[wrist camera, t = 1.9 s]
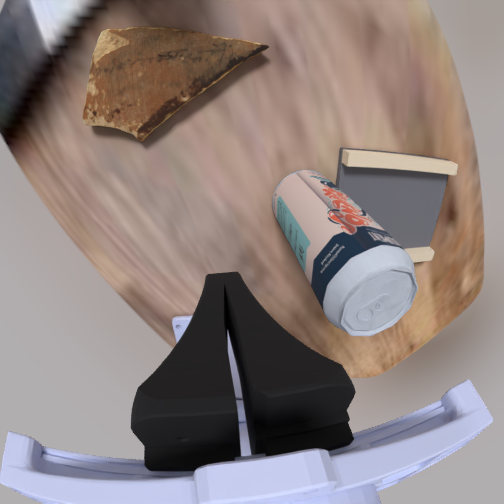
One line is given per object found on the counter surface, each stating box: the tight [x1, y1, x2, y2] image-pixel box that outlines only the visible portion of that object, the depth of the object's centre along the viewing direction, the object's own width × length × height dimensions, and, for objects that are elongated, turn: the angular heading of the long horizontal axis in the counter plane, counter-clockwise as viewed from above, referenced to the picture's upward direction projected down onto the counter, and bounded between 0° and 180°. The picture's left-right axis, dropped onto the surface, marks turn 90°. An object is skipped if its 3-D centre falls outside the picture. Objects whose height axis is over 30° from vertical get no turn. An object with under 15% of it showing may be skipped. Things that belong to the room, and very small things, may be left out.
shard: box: [82, 27, 269, 141], centre depth 16 cm, size 11×8×2 cm
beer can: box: [272, 170, 418, 336], centre depth 17 cm, size 5×5×12 cm
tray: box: [336, 148, 458, 263], centre depth 23 cm, size 10×12×2 cm
